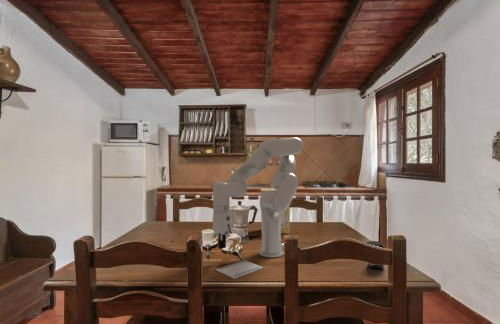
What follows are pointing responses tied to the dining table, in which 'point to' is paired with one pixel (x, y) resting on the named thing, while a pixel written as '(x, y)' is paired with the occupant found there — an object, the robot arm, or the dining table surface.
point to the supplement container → (379, 246)
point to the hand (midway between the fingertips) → (222, 248)
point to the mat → (239, 269)
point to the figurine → (226, 257)
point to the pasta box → (281, 216)
